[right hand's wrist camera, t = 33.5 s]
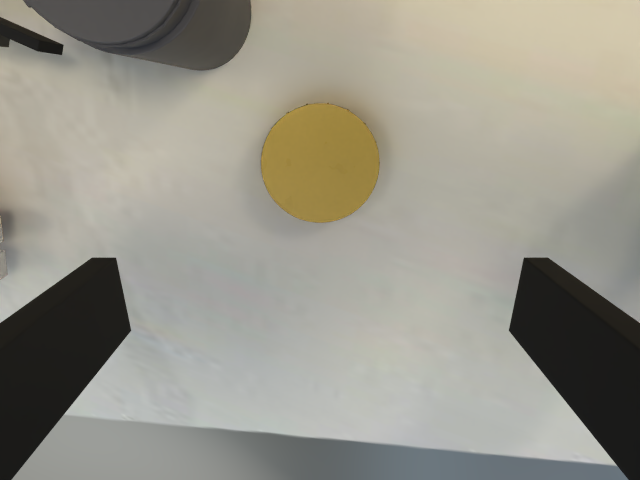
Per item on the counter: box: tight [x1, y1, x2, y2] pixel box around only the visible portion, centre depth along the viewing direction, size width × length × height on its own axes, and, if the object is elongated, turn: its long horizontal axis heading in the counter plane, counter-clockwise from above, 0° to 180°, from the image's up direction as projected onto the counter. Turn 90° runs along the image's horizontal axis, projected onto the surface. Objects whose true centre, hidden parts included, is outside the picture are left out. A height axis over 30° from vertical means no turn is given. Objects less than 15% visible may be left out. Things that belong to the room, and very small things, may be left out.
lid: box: [261, 103, 379, 223], centre depth 36 cm, size 11×11×2 cm
